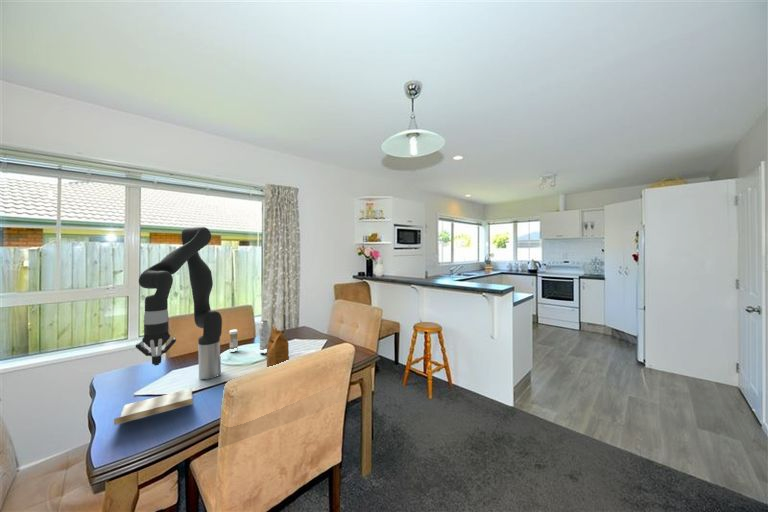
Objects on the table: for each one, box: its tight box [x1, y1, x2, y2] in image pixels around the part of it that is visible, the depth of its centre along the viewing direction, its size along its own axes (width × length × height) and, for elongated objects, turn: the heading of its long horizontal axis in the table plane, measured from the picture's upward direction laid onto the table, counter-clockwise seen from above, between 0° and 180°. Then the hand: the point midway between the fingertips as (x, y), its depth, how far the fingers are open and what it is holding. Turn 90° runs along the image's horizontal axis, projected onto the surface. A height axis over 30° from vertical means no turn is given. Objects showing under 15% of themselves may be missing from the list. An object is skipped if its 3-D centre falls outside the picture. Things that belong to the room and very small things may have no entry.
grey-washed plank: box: [120, 388, 193, 417], centre depth 113 cm, size 22×10×2 cm, turn 126°
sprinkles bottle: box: [228, 329, 239, 350], centre depth 174 cm, size 5×5×14 cm
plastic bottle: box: [258, 320, 271, 350], centre depth 170 cm, size 6×7×20 cm
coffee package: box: [265, 326, 290, 368], centre depth 149 cm, size 10×12×22 cm
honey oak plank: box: [113, 397, 194, 426], centre depth 104 cm, size 22×12×2 cm, turn 126°
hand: (156, 364), depth 110 cm, fingers closed
